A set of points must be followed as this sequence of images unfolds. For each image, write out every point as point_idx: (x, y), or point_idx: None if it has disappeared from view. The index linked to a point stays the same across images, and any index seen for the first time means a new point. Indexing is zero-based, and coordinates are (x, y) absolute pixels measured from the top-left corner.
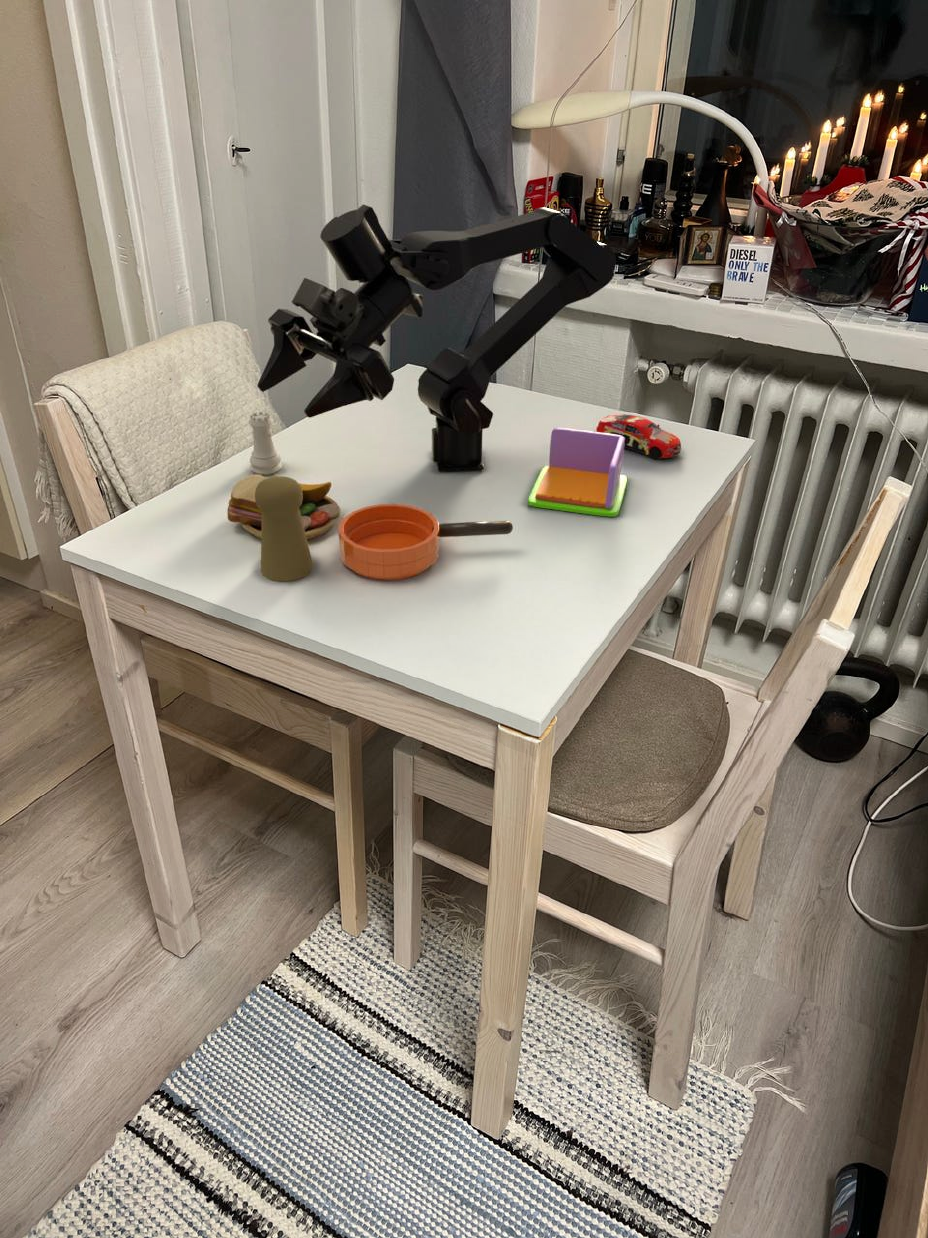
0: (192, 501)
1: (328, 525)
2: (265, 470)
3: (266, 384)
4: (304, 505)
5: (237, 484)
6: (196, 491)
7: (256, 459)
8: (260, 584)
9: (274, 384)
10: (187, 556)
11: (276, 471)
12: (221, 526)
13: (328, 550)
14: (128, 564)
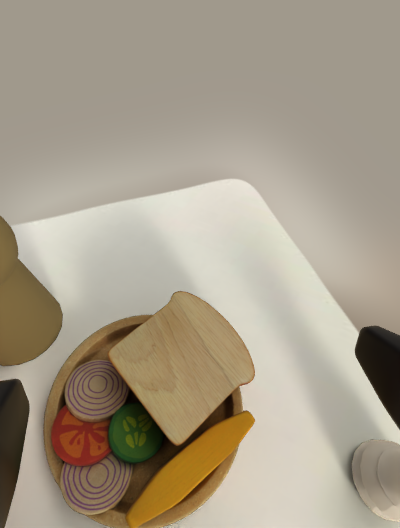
0: (297, 309)
1: (47, 447)
2: (358, 462)
3: (377, 365)
4: (150, 443)
5: (221, 318)
6: (328, 327)
7: (382, 449)
8: None
9: (393, 415)
10: (151, 242)
11: (357, 489)
12: None
13: None
14: (176, 195)
